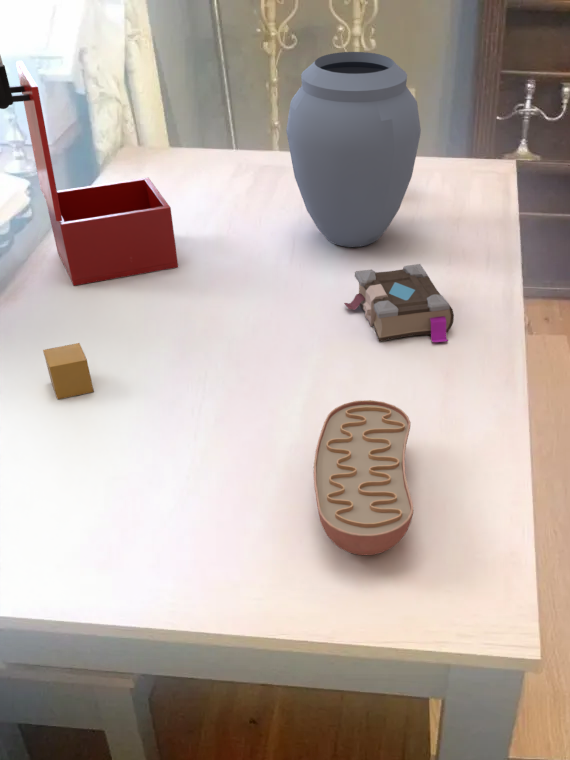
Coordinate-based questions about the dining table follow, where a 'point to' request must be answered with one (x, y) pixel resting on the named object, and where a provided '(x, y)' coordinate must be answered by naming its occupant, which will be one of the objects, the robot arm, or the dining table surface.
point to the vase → (353, 144)
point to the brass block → (68, 370)
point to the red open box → (114, 231)
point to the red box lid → (37, 136)
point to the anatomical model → (363, 476)
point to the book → (402, 304)
